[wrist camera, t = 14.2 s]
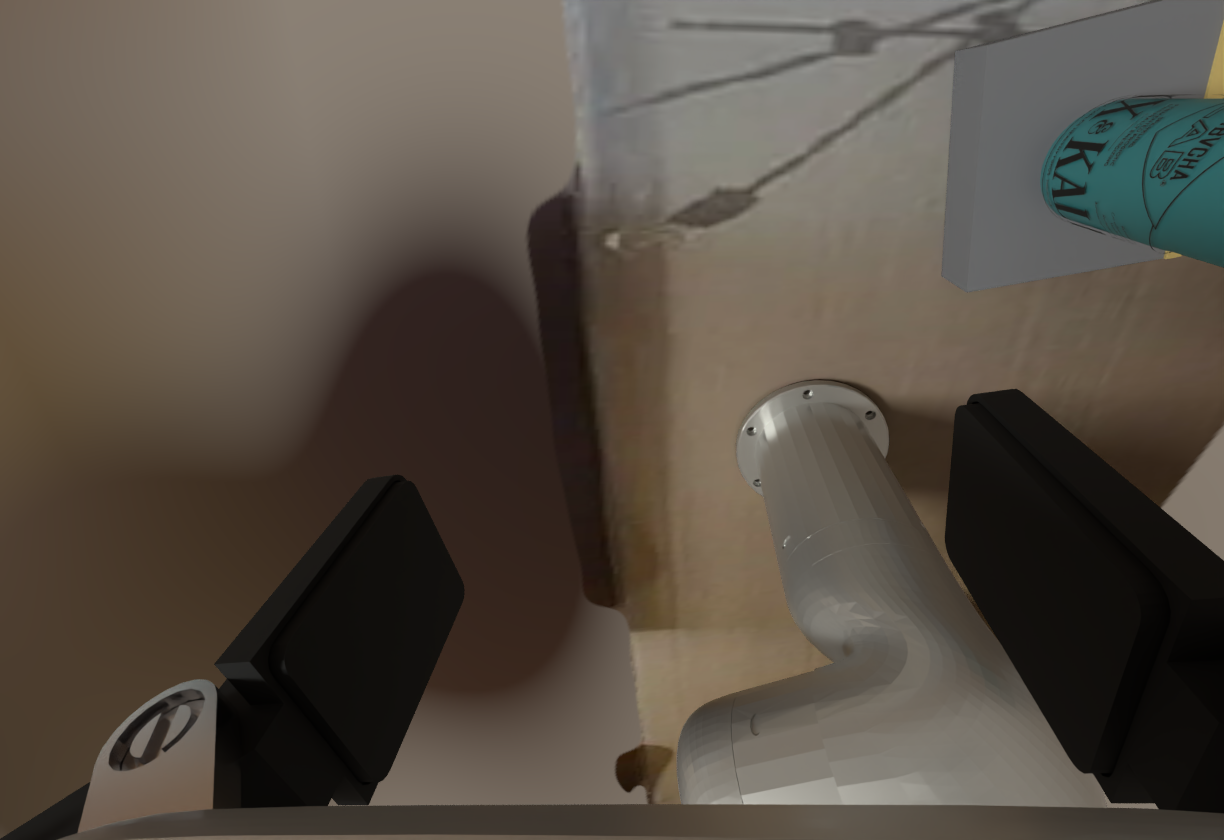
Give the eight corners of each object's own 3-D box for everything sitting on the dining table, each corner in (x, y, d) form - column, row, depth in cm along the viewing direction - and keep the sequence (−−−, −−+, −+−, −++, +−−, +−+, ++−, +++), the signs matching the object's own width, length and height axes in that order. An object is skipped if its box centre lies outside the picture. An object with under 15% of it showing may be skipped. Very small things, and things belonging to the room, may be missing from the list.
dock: (1132, 241, 37) (1181, 256, 34) (941, 276, 40) (967, 293, 36) (1188, -8, 31) (1255, -23, 27) (955, 51, 33) (989, 44, 30)
